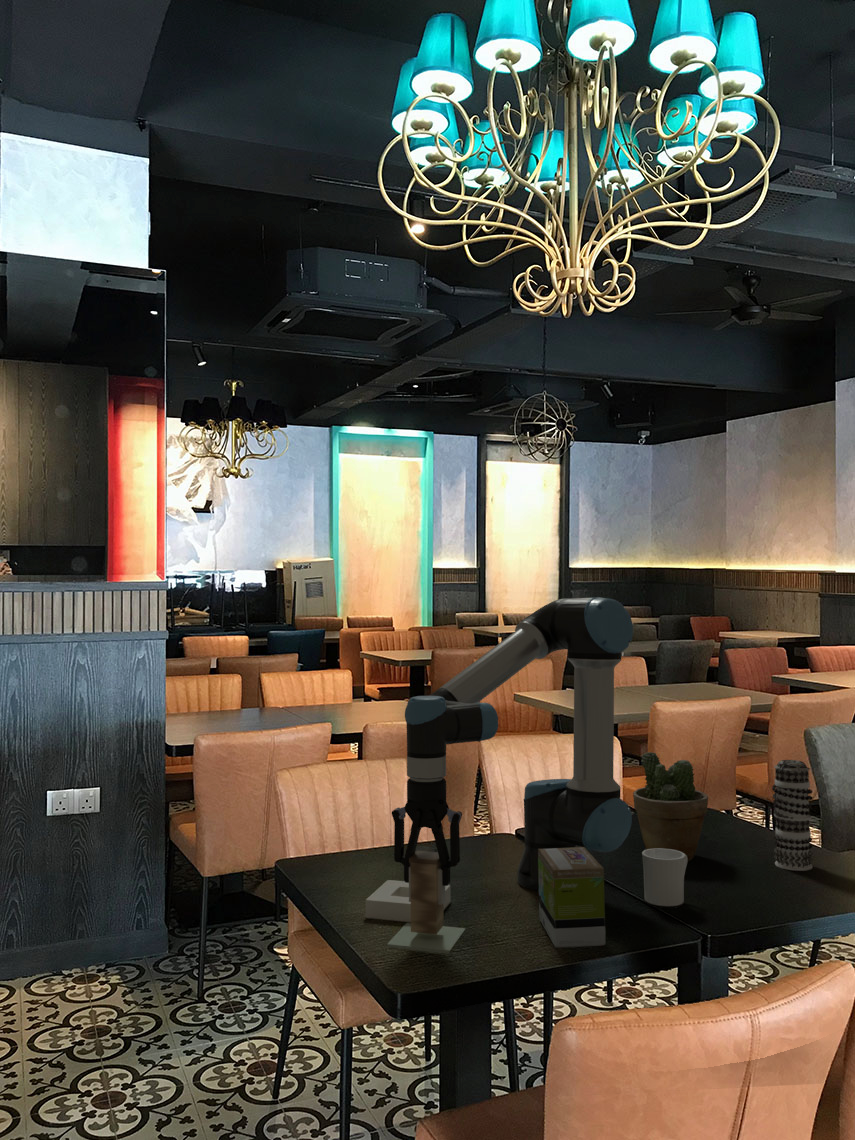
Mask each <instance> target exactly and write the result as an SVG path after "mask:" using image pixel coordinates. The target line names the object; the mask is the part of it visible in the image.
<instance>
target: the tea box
mask: <svg viewBox="0 0 855 1140" xmlns="http://www.w3.org/2000/svg"><path fill="white" fill-rule="evenodd" d="M538 875H539V891H538V901H539V903H538V908H539V910H538V911H539V912H538V913H539V914H538V915H539V920H540V923H541V924H542V926H543V929H544V931H545V932H546V933H547V935H548V937H549V939H550V941H551V942H552V944H553V946H554V947H555V948H578V947H580V948H581V947H599V946H606V907H605V906H606V903H605V900H606V899H605V893H606V892H605V868H604V867H603V866H602V865H601V864H600V863H599V861H598V860H597V859H596V858H595V857H594V856H593V855H592V854H591V853H590V852H589V851H588V849H587V848H585V847H581V846H576V847H572V848H551V849H538Z"/></svg>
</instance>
